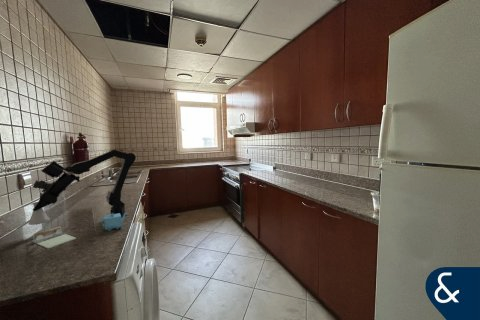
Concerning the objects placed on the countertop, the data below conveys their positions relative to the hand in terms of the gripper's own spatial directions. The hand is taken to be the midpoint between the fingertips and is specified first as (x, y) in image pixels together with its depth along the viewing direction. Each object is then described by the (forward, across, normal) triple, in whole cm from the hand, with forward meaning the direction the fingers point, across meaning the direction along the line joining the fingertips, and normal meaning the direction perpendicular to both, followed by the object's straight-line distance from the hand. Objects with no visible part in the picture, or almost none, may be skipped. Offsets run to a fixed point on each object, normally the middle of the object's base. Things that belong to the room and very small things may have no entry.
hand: (33, 209), depth 97 cm
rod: (+4, +8, +10) cm, 14 cm away
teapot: (-12, +17, +30) cm, 37 cm away
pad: (+4, +16, +14) cm, 22 cm away
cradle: (+6, +8, +12) cm, 15 cm away
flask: (+4, 0, +6) cm, 7 cm away
